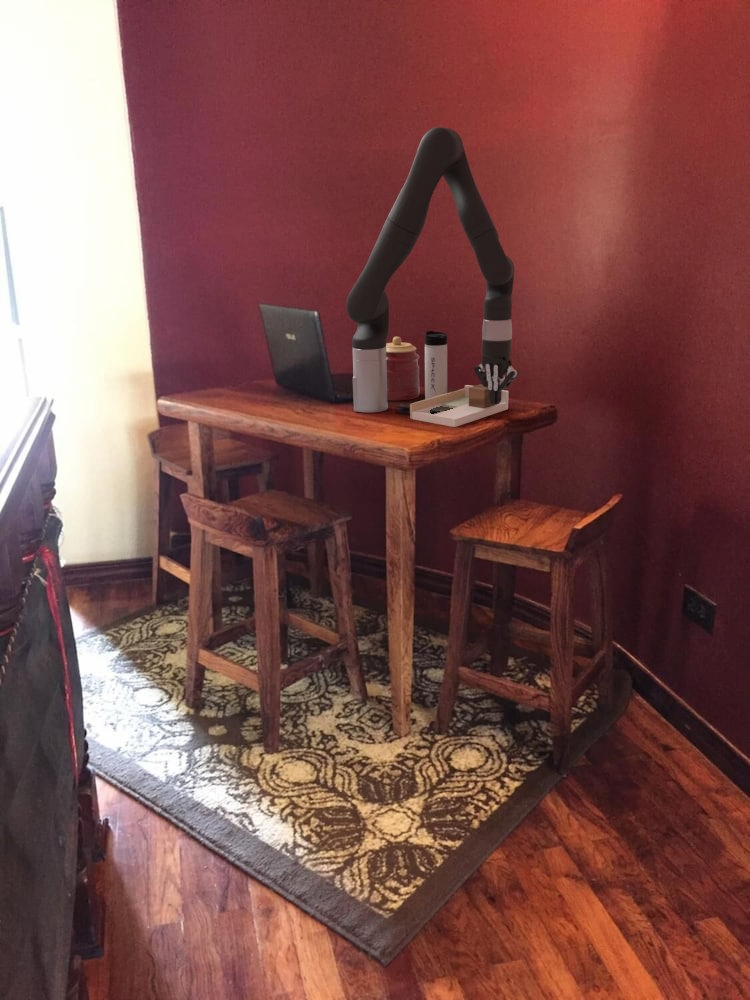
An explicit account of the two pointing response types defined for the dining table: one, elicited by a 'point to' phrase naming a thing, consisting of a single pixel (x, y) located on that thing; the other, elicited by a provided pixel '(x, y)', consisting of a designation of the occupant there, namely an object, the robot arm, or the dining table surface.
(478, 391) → the block
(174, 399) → the dining table surface
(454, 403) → the tray
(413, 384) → the canister
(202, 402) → the dining table surface
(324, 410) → the dining table surface
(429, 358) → the travel mug
